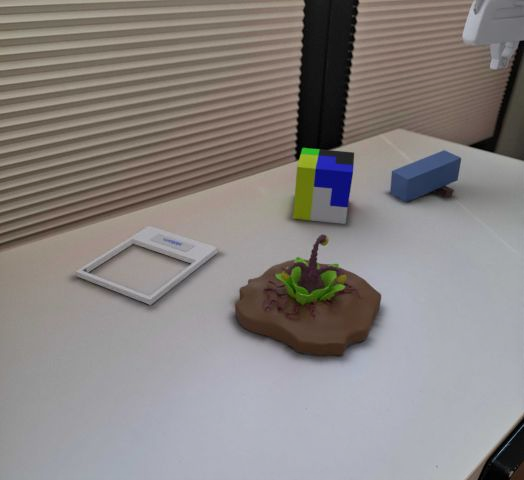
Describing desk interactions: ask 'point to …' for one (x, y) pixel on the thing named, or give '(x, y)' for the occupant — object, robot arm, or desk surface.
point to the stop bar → (444, 191)
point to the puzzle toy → (323, 185)
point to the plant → (309, 305)
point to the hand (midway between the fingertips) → (498, 68)
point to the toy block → (425, 175)
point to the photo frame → (159, 243)
